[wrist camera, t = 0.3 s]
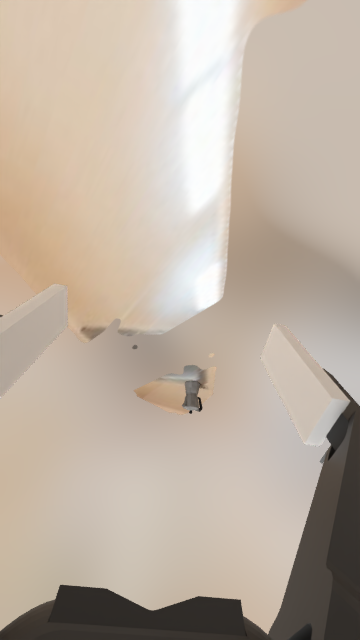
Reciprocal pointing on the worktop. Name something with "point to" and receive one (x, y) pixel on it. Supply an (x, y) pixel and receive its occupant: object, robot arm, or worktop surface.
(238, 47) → the worktop surface
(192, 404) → the coffeepot
